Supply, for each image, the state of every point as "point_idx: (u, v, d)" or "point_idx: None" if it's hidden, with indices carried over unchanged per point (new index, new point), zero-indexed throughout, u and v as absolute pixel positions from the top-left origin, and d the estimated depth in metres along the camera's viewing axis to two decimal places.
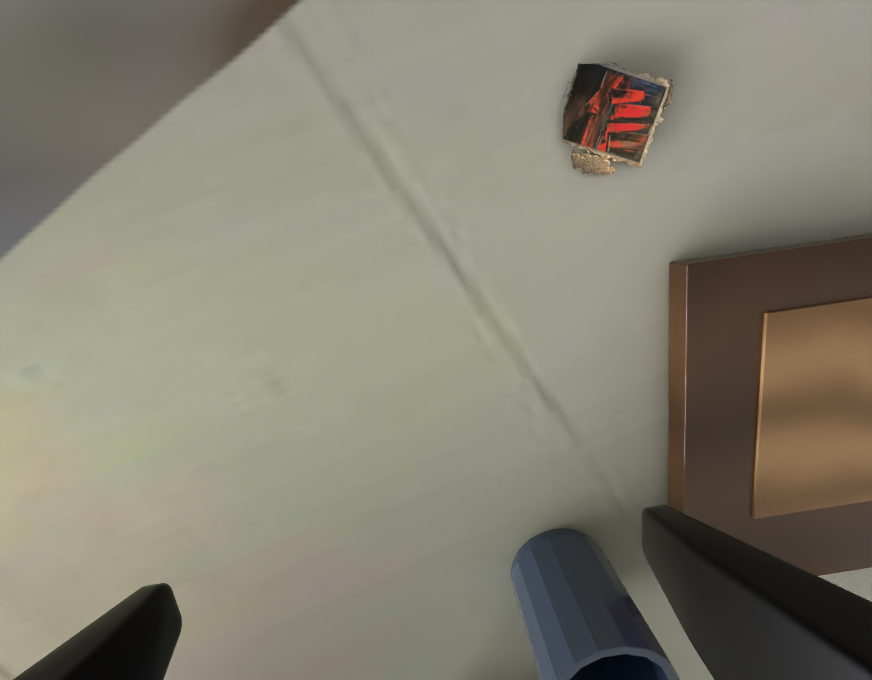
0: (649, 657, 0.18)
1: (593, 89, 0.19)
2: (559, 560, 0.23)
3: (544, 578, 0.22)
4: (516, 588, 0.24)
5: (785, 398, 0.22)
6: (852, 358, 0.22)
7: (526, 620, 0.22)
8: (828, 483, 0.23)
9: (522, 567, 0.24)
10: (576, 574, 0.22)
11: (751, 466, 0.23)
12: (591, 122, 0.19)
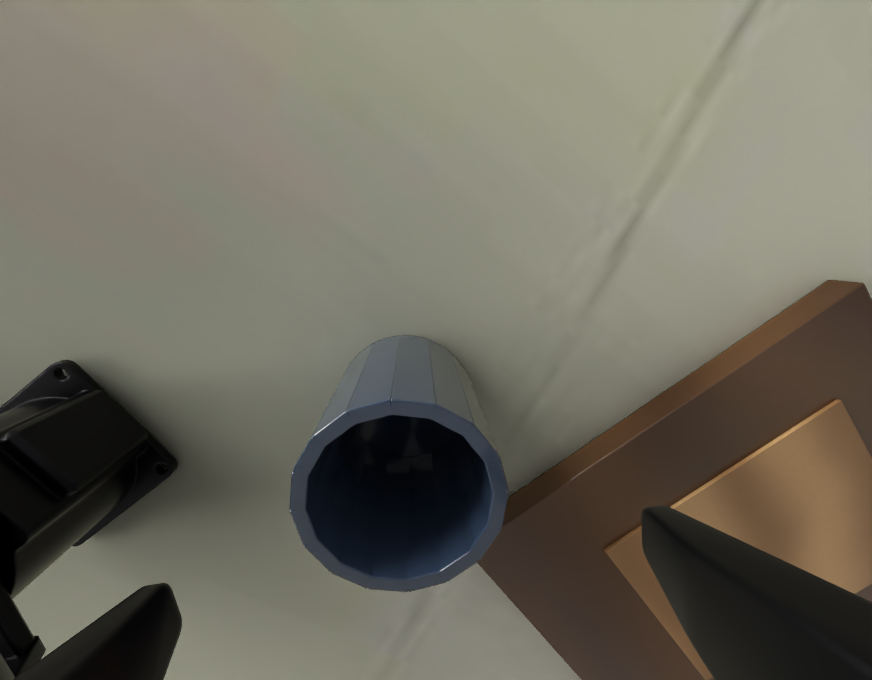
0: (496, 498, 0.11)
1: None
2: (456, 367, 0.16)
3: (431, 357, 0.15)
4: (372, 349, 0.16)
5: (756, 483, 0.19)
6: (821, 515, 0.19)
7: (367, 365, 0.14)
8: None
9: (402, 341, 0.17)
10: (468, 387, 0.15)
11: None
12: None
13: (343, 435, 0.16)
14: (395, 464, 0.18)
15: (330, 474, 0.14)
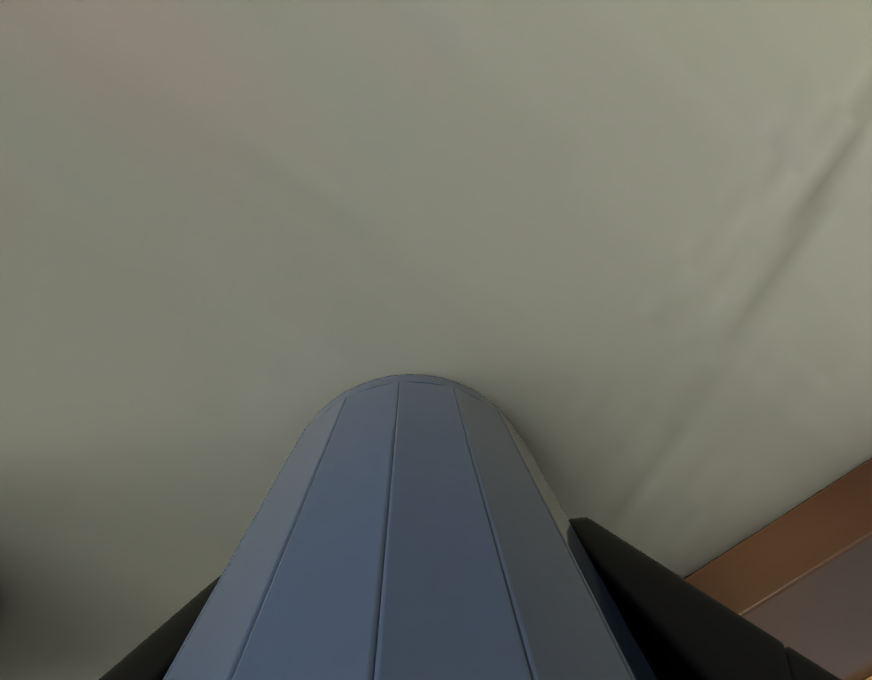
0: None
1: None
2: (518, 450, 0.08)
3: (470, 437, 0.07)
4: (342, 411, 0.08)
5: None
6: None
7: (322, 468, 0.06)
8: None
9: (404, 391, 0.08)
10: (554, 506, 0.07)
11: (868, 669, 0.11)
12: None
13: None
14: None
15: None
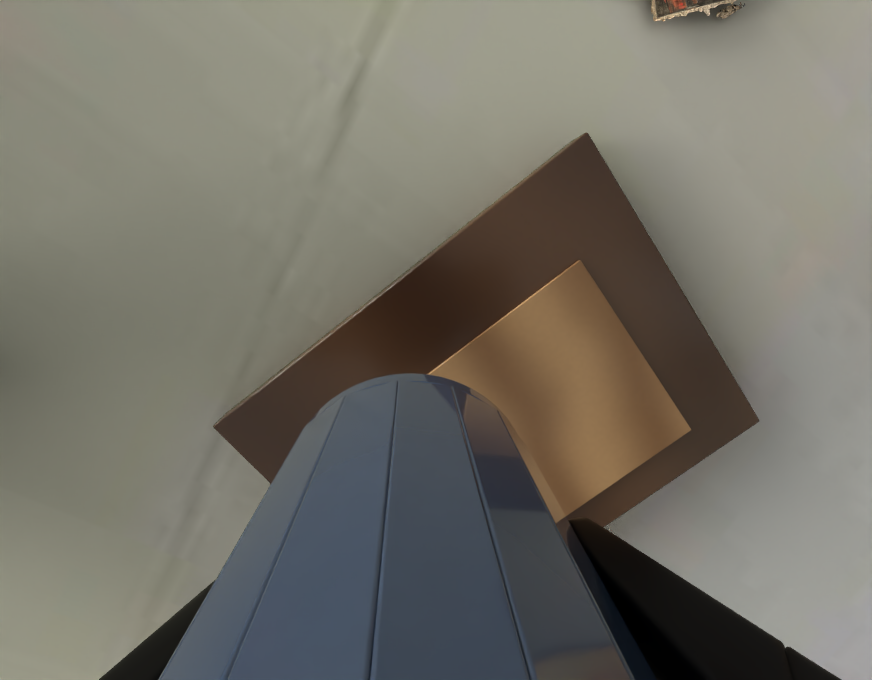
0: None
1: None
2: (516, 448, 0.08)
3: (468, 436, 0.07)
4: (341, 410, 0.08)
5: (506, 351, 0.18)
6: (579, 387, 0.19)
7: (320, 467, 0.06)
8: None
9: (403, 390, 0.08)
10: (553, 505, 0.07)
11: None
12: None
13: None
14: None
15: None
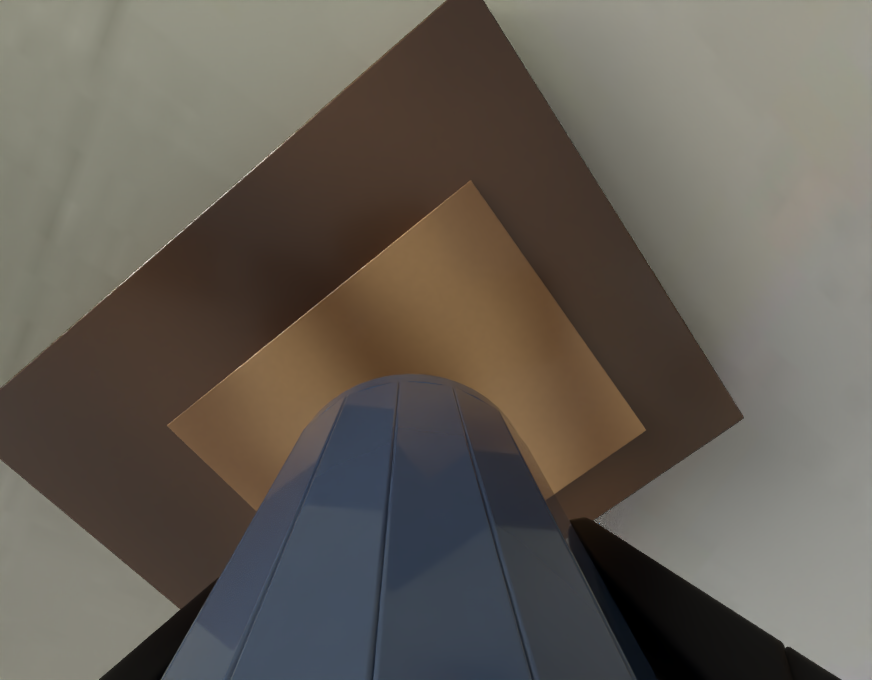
0: None
1: None
2: (518, 450, 0.07)
3: (470, 437, 0.07)
4: (342, 410, 0.08)
5: (370, 317, 0.13)
6: (482, 369, 0.13)
7: (321, 467, 0.06)
8: None
9: (404, 391, 0.08)
10: (555, 506, 0.07)
11: (241, 356, 0.13)
12: None
13: None
14: None
15: None
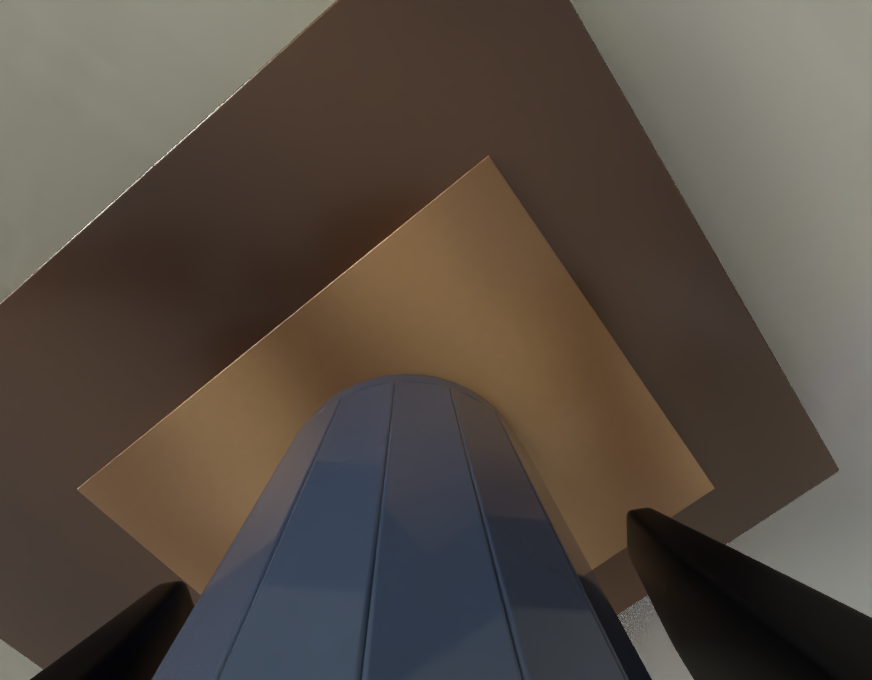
0: None
1: None
2: (514, 450, 0.07)
3: (465, 438, 0.07)
4: (337, 411, 0.08)
5: (350, 344, 0.09)
6: (501, 412, 0.10)
7: (315, 469, 0.06)
8: None
9: (399, 391, 0.08)
10: (551, 507, 0.07)
11: (176, 395, 0.10)
12: None
13: None
14: None
15: None
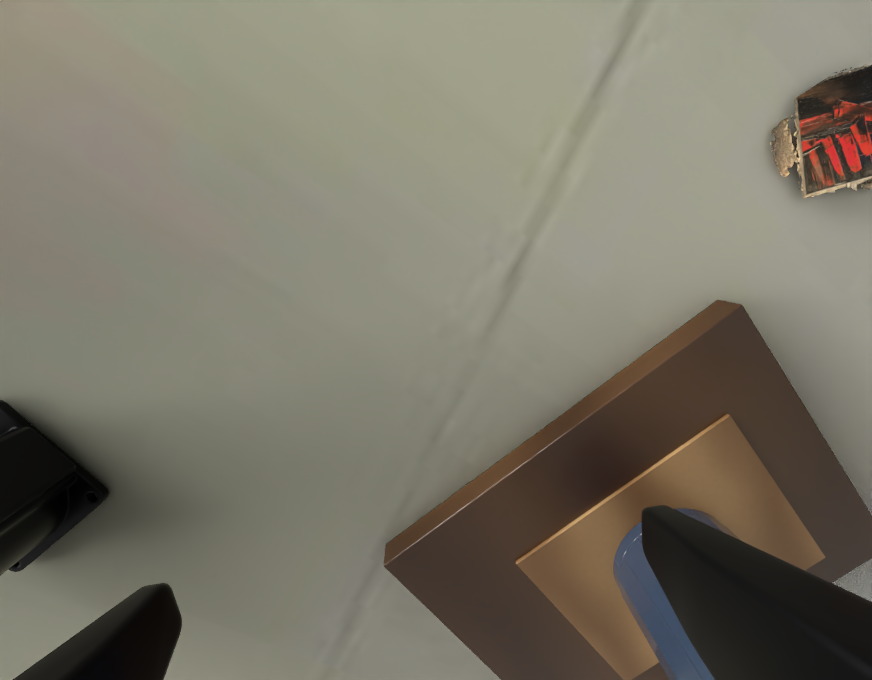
0: None
1: (856, 97, 0.17)
2: None
3: None
4: None
5: (655, 496, 0.19)
6: None
7: None
8: (590, 600, 0.21)
9: None
10: None
11: (567, 519, 0.20)
12: (824, 117, 0.17)
13: None
14: None
15: None
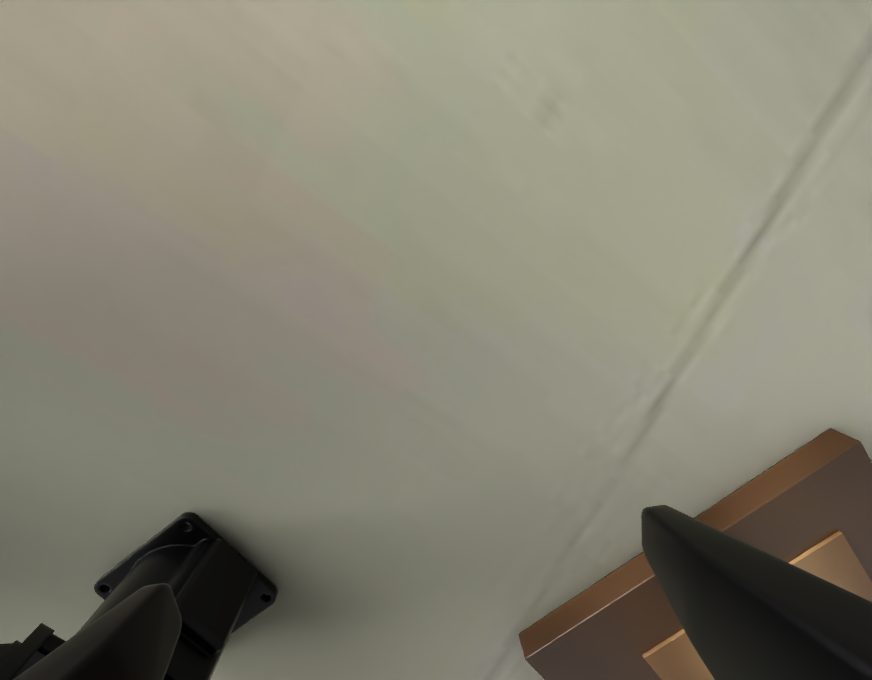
0: None
1: None
2: None
3: None
4: None
5: None
6: None
7: None
8: None
9: None
10: None
11: None
12: None
13: None
14: None
15: None
